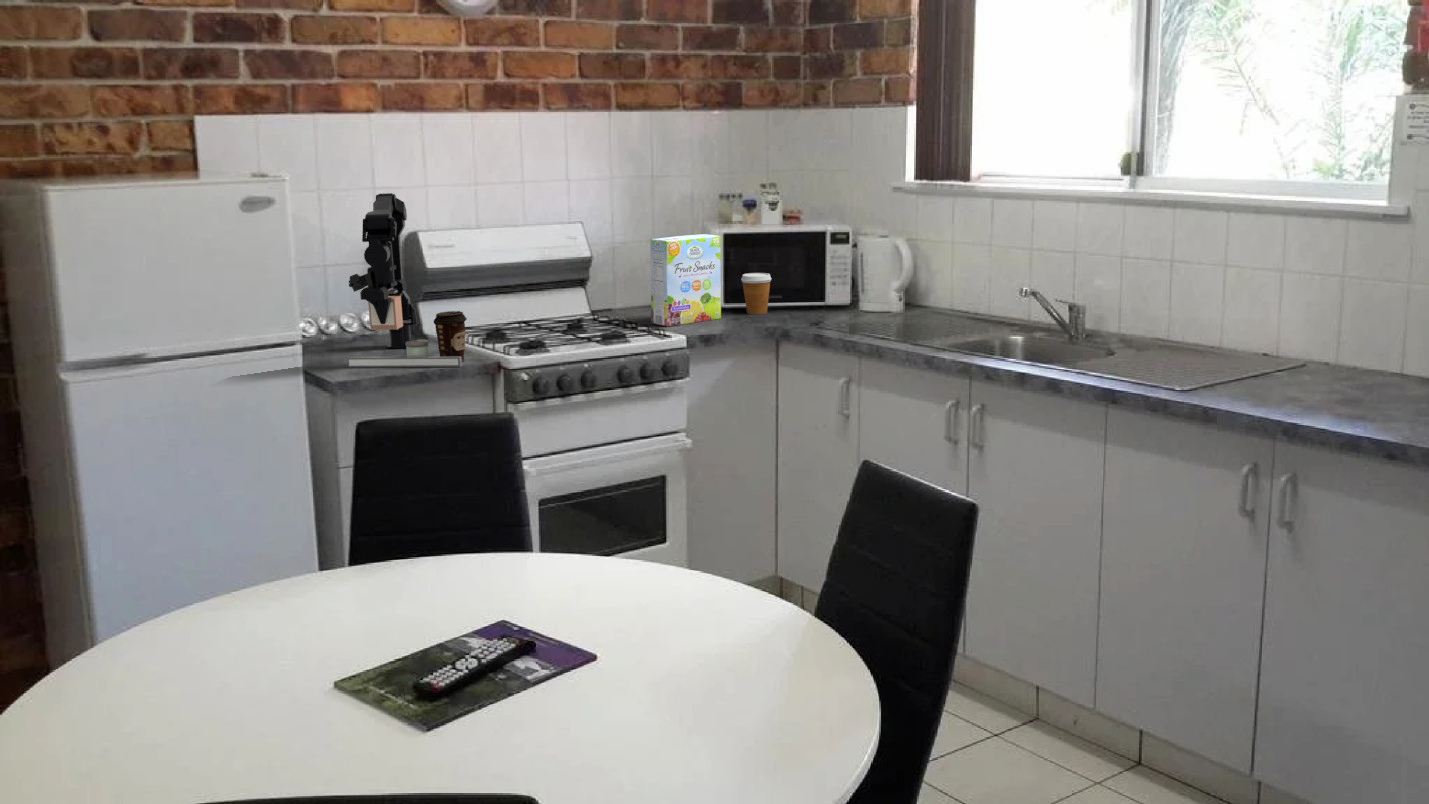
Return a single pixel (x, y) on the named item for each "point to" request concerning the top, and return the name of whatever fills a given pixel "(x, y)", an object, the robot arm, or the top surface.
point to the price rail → (405, 361)
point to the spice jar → (417, 348)
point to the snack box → (685, 279)
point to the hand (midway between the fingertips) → (386, 322)
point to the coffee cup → (451, 333)
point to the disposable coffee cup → (756, 292)
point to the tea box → (393, 316)
